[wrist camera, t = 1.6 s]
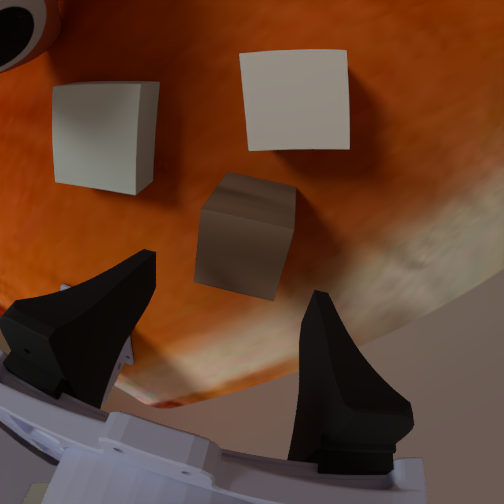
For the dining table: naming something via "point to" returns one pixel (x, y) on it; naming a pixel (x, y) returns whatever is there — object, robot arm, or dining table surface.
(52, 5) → the toy
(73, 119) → the sage slab
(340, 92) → the cream block
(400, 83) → the dining table surface
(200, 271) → the walnut block
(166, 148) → the dining table surface
